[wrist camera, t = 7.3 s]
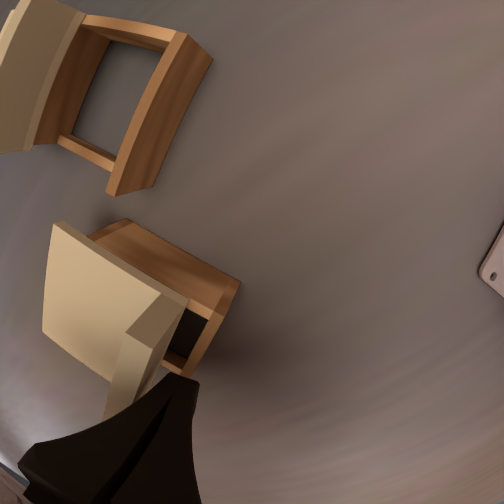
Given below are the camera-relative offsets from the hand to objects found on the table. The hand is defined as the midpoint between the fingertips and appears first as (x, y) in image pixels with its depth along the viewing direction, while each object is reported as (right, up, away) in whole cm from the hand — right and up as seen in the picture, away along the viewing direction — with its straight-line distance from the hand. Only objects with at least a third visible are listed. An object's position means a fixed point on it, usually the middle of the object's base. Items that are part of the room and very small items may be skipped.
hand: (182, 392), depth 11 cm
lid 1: (-9, +15, -2) cm, 18 cm away
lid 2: (-4, +3, +1) cm, 5 cm away
